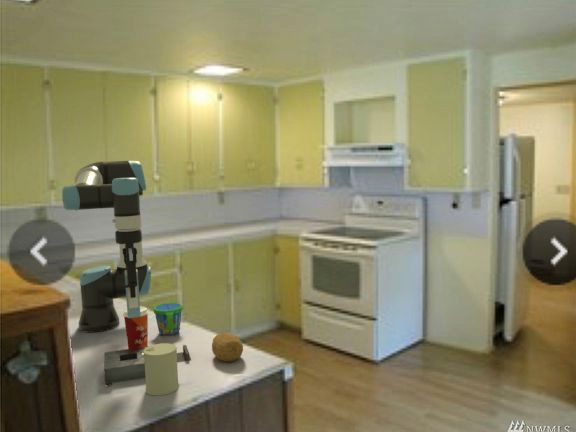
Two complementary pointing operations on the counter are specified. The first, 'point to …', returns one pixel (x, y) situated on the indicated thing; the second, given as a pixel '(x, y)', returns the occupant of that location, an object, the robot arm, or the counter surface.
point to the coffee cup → (137, 329)
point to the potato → (227, 347)
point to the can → (161, 369)
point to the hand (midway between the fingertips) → (133, 305)
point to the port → (124, 365)
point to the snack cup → (168, 318)
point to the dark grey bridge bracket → (183, 355)
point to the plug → (130, 311)
